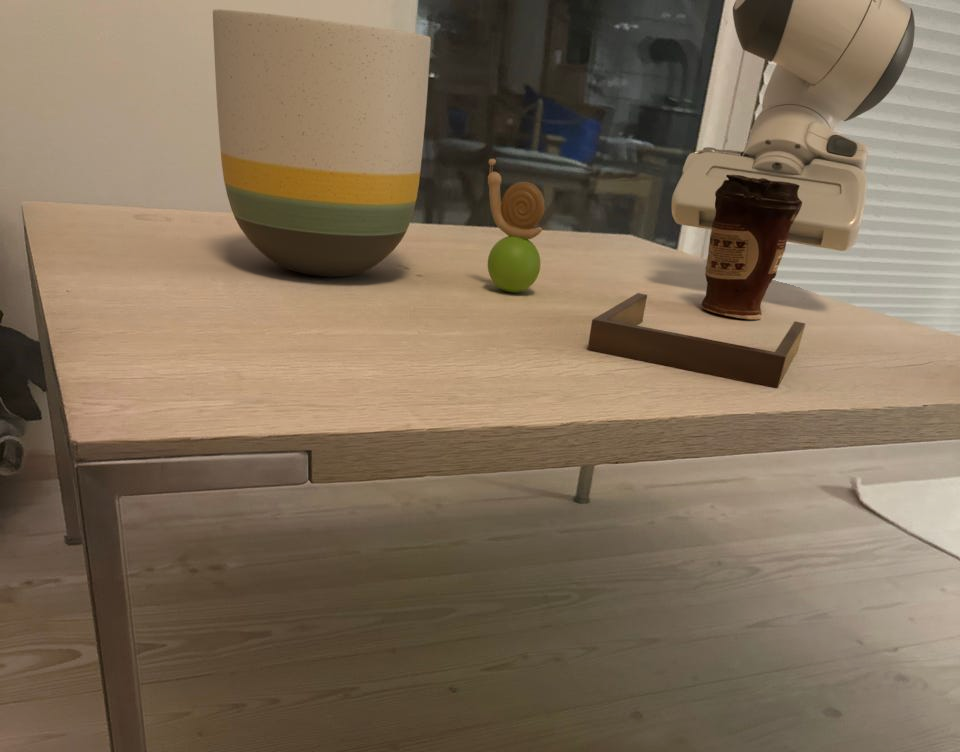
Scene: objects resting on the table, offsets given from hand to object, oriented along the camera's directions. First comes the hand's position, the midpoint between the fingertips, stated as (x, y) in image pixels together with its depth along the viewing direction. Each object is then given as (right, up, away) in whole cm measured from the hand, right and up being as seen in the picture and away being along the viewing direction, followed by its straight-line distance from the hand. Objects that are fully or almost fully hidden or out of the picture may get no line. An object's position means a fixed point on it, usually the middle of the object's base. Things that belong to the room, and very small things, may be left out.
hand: (746, 263), depth 99 cm
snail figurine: (-26, -4, -3) cm, 26 cm away
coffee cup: (-2, -6, -1) cm, 6 cm away
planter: (-45, -3, -4) cm, 45 cm away
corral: (-9, -14, -17) cm, 24 cm away
